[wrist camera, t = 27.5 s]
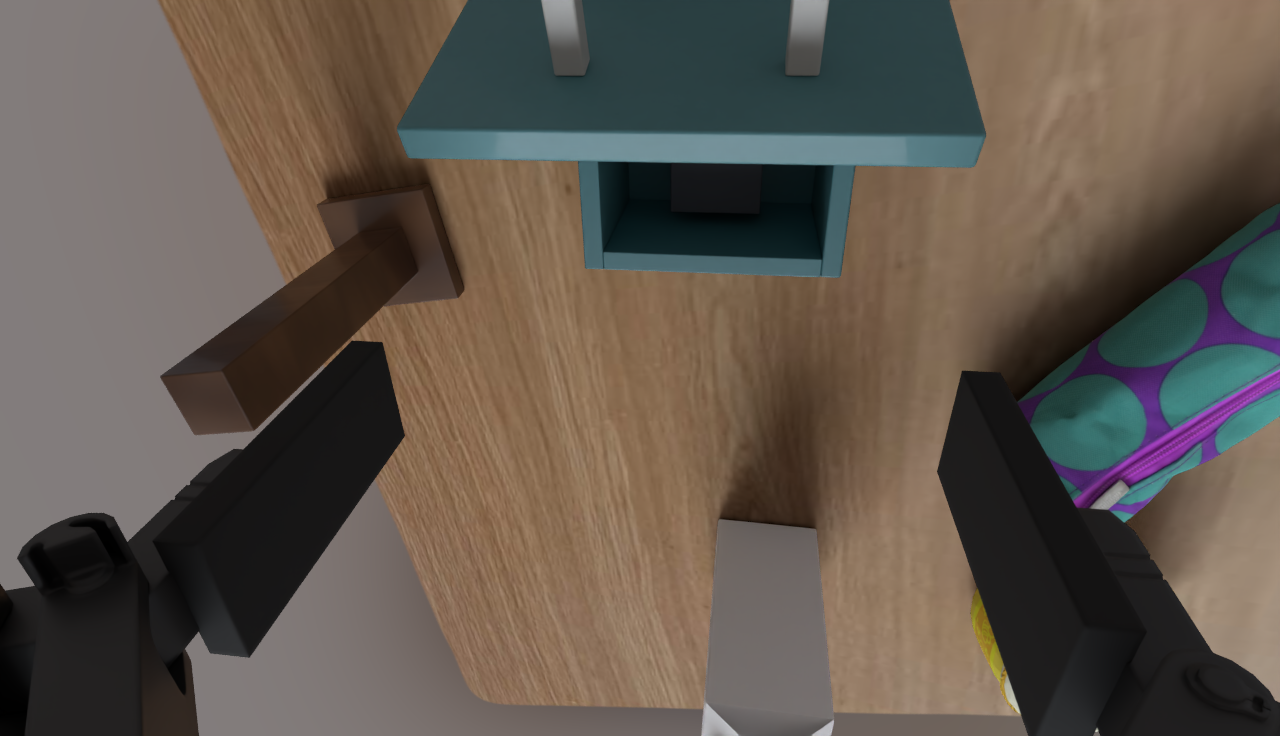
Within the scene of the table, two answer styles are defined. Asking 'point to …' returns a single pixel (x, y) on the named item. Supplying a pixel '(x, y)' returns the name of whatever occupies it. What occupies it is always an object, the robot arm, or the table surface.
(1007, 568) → the robot arm
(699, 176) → the block
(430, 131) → the lid
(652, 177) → the chest
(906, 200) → the table surface
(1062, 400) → the pencil case
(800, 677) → the milk carton
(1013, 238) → the table surface
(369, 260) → the post stand
